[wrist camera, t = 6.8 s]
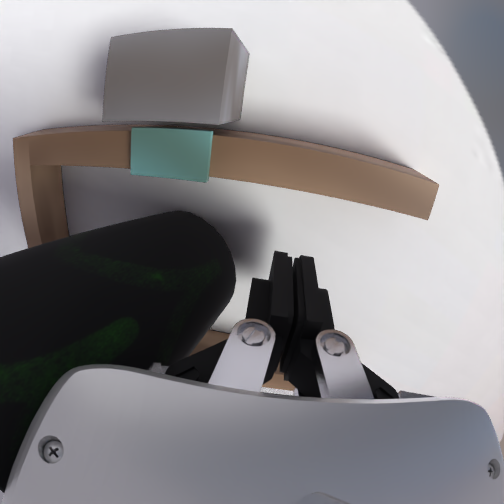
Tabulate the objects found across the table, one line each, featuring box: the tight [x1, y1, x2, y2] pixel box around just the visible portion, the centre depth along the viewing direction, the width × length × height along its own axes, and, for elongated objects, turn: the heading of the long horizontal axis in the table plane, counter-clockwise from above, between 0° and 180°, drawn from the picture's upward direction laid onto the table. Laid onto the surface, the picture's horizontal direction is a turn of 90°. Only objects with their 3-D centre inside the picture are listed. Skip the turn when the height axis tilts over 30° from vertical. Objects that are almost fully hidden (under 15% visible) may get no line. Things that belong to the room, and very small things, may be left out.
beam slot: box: [13, 28, 439, 391], centre depth 12 cm, size 17×20×4 cm
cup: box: [0, 211, 236, 493], centre depth 9 cm, size 8×8×12 cm
